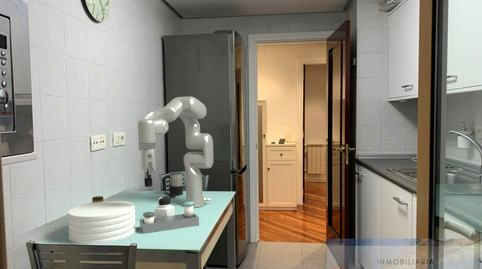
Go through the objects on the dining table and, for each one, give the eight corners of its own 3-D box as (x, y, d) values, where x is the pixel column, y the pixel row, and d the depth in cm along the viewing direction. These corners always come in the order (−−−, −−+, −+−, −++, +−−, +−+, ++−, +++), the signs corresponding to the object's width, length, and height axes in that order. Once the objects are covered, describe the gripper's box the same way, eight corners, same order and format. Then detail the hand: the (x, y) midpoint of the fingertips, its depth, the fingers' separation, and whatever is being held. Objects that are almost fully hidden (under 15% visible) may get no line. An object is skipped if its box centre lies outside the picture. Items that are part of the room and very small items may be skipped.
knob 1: (153, 226, 163) (153, 211, 163) (156, 229, 158) (155, 213, 158) (142, 227, 161) (142, 212, 161) (144, 230, 156) (144, 215, 156)
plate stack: (83, 225, 169) (82, 201, 169) (141, 222, 172) (140, 199, 171) (57, 245, 142) (56, 217, 141) (127, 242, 144) (126, 215, 143)
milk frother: (181, 192, 242) (181, 171, 242) (187, 197, 228) (186, 174, 227) (161, 194, 237) (160, 173, 236) (165, 199, 222) (165, 176, 222)
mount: (193, 220, 173) (193, 212, 173) (199, 225, 165) (198, 217, 165) (139, 228, 162) (139, 219, 162) (143, 233, 154) (142, 224, 154)
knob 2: (192, 214, 171) (192, 200, 171) (195, 217, 166) (195, 202, 166) (182, 216, 169) (182, 201, 169) (185, 218, 164) (185, 204, 164)
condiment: (88, 220, 176) (88, 197, 176) (104, 216, 183) (103, 194, 182) (95, 223, 172) (95, 199, 171) (111, 219, 178) (111, 196, 178)
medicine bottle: (174, 219, 175) (174, 196, 175) (167, 223, 169) (166, 199, 168) (162, 218, 178) (161, 195, 177) (154, 222, 171) (154, 198, 170)
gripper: (158, 147, 153) (160, 188, 154) (152, 145, 167) (153, 182, 168) (141, 148, 150) (142, 190, 151) (136, 145, 163) (137, 184, 164)
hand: (148, 186), depth 159 cm, fingers closed
